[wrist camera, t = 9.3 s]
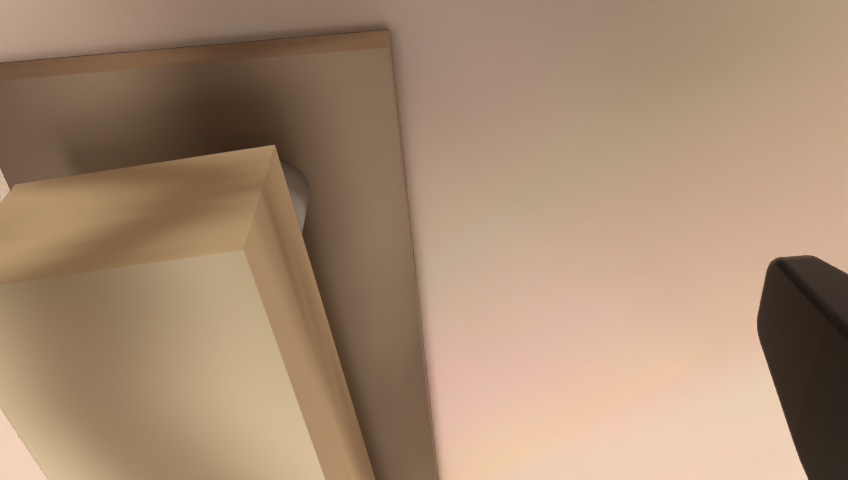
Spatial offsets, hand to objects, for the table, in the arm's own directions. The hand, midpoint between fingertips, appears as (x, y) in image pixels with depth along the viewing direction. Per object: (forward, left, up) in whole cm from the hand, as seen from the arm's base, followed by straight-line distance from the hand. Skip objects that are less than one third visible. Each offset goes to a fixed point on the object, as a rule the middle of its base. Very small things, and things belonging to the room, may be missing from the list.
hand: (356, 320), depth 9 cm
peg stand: (+5, +10, -12) cm, 17 cm away
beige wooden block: (+5, +10, -9) cm, 15 cm away
